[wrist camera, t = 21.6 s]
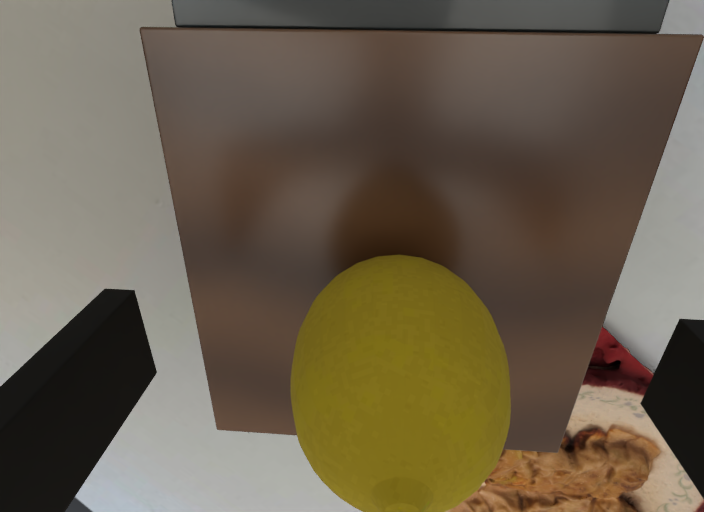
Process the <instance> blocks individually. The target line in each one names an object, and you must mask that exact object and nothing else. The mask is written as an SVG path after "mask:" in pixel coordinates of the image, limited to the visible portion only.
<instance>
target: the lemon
mask: <svg viewBox="0 0 704 512" xmlns="http://www.w3.org/2000/svg"><path fill="white" fill-rule="evenodd" d="M291 403H292V410H293V416H294V422H295V427H296V432H297V436H298V440H299V443H300V446H301V448H302V450H303V452H304V454H305V456H306V457H307V459H308V461H309V463H310V465H311V466H312V468H313V470H314V471H315V473H316V474H317V475H318V476H319V478H320V479H321V480H322V481H323V482H324V483H325V484H326V485H327V486H328V487H329V488H330V489H331V490H332V491H333V492H334V493H335V494H336V495H337V496H339V497H340V498H341V499H342V500H344V501H346V502H347V503H349V504H350V505H352V506H353V507H355V508H357V509H359V510H361V511H363V512H445V511H448V510H450V509H452V508H454V507H456V506H458V505H459V504H460V503H462V502H463V501H464V500H466V499H467V498H468V497H469V496H471V495H472V494H473V493H474V492H476V491H477V490H478V489H479V488H480V486H481V485H482V484H483V483H484V481H485V480H486V479H487V477H488V476H489V475H490V473H491V472H492V471H493V469H494V468H495V467H496V465H497V462H498V460H499V458H500V456H501V453H502V450H503V447H504V444H505V441H506V438H507V434H508V430H509V425H510V414H511V397H510V376H509V366H508V360H507V355H506V352H505V348H504V345H503V343H502V340H501V338H500V335H499V333H498V330H497V328H496V325H495V323H494V320H493V318H492V316H491V314H490V312H489V311H488V309H487V307H486V306H485V305H484V304H483V302H482V301H481V300H480V298H479V297H478V296H477V295H476V294H475V292H474V291H473V290H472V289H471V287H470V286H469V285H468V284H467V283H466V282H465V281H464V280H463V279H461V278H460V277H458V276H457V275H455V274H454V273H453V272H451V271H450V270H448V269H447V268H445V267H444V266H442V265H439V264H437V263H434V262H432V261H429V260H426V259H424V258H421V257H414V256H407V255H388V256H377V257H374V258H371V259H368V260H365V261H362V262H359V263H356V264H355V265H353V266H352V267H350V268H348V269H347V270H345V271H343V272H342V273H340V274H339V275H337V276H336V277H335V278H334V279H333V280H332V281H331V282H330V283H329V284H328V285H327V286H326V287H325V288H324V289H323V290H322V291H321V292H320V293H319V295H318V296H317V297H316V299H315V300H314V302H313V303H312V305H311V307H310V309H309V311H308V313H307V315H306V317H305V319H304V321H303V323H302V326H301V328H300V330H299V333H298V336H297V340H296V345H295V351H294V357H293V363H292V371H291Z"/></svg>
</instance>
